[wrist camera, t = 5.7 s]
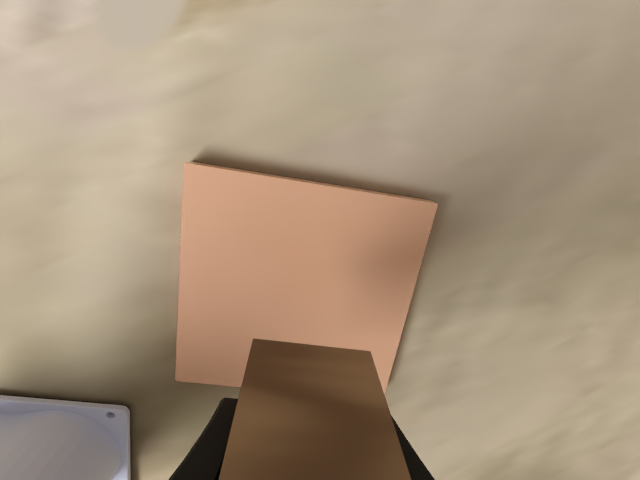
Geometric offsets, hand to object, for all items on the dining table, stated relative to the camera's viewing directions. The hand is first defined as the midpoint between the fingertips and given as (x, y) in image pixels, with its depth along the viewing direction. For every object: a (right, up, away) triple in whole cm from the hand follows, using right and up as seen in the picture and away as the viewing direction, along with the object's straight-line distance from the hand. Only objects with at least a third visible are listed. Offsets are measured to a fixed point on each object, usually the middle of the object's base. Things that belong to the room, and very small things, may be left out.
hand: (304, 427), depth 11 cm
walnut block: (0, 0, +2) cm, 2 cm away
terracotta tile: (-1, +4, +8) cm, 9 cm away
